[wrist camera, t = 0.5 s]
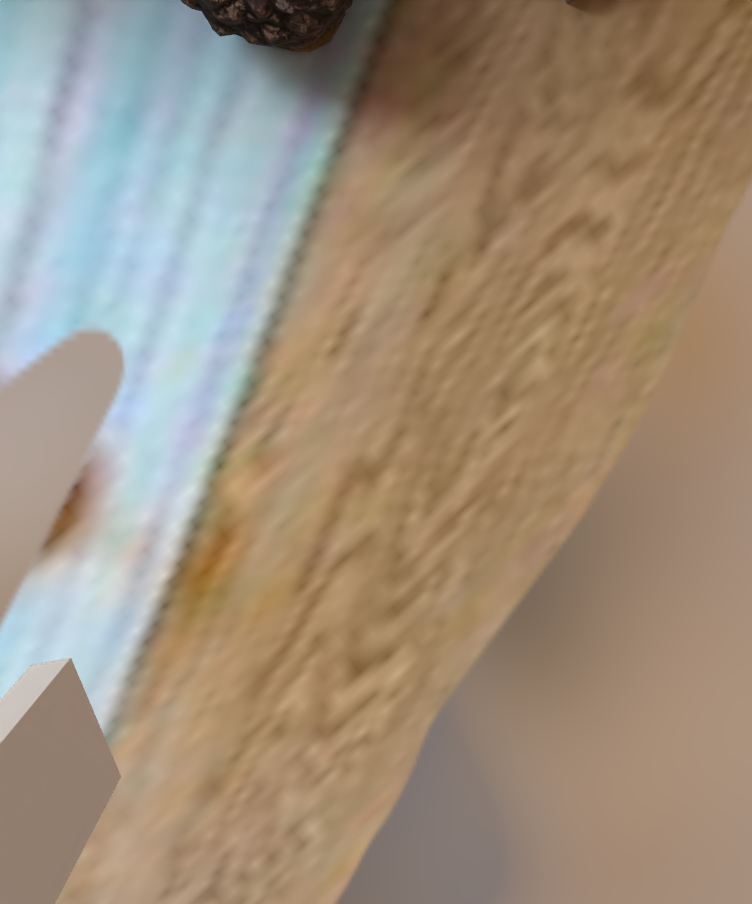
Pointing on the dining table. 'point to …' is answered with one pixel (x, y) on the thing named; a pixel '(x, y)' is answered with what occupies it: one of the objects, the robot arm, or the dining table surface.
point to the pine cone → (275, 20)
